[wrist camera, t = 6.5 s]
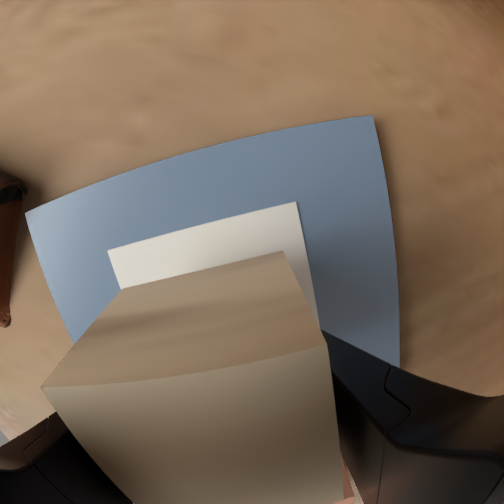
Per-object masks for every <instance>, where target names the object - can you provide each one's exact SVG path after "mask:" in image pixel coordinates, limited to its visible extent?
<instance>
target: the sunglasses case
mask: <svg viewBox="0 0 504 504" xmlns="http://www.w3.org/2000/svg"><path fill="white" fill-rule="evenodd" d="M23 193H24V194H28V190H27V188H26V187H25V186H24V184H23V182H21V181H20V180H18V179H16V178H14V177H12V176H10V175H8V174H5V173H3V172H1V171H0V326H2V327H4V328H6V327H7V326H8V325H9V324H10V322H11V316H10V307H9V299H10V288H11V275H12V264H13V257H14V250H15V242H16V238H17V231H18V222H19V218H20V213H21V207H22V195H23Z"/></svg>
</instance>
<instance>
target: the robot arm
mask: <svg viewBox="0 0 504 504" xmlns="http://www.w3.org/2000/svg"><path fill="white" fill-rule="evenodd" d="M320 330H321V332H322V334H323V337H324V339H325V341H326V343H327V347H328V354H329V361H330V369H331V376H332V383H333V391H334V399H335V408H336V416H337V425H338V435H339V445H340V450H341V452H342V455H343V457H344V459H345V461H346V464H347V466H348V468H349V470H350V473H351V475H352V477H353V479H354V482H355V484H356V486H357V488H358V491H359V493H360V495H361V498H362V500H363V502H364V504H504V395H501V396H495V397H485V396H479V395H474V394H471V393H468V392H464V391H461V390H458V389H455V388H451V387H448V386H445V385H442V384H439V383H436V382H433V381H430V380H427V379H424V378H422V377H419V376H416V375H414V374H412V373H410V372H407V371H405V370H403V369H401V368H399V367H396V366H394V365H391V364H390V363H388V362H386V361H384V360H382V359H380V358H378V357H376V356H374V355H372V354H370V353H368V352H366V351H364V350H362V349H360V348H358V347H356V346H354V345H352V344H350V343H348V342H346V341H344V340H342V339H340V338H338V337H336V336H334V335H332V334H330V333H328V332H326V331H324V330H322V329H320ZM0 504H133V502H132V501H131V500H130V499H129V498H128V497H127V496H126V495H125V494H124V493H123V492H122V491H121V490H120V489H119V488H118V487H117V486H116V485H115V484H114V482H113V481H112V480H111V479H110V478H109V477H108V476H107V475H106V474H105V473H104V472H103V470H102V469H101V468H100V467H99V466H98V465H97V464H96V462H95V461H94V460H93V459H92V458H91V457H90V455H89V454H88V453H87V452H86V450H85V449H84V448H83V447H82V445H81V444H80V443H79V442H78V440H77V439H76V438H75V437H74V435H73V434H72V433H71V431H70V430H69V429H68V427H67V426H66V424H65V423H64V422H63V420H62V419H61V417H60V416H59V415H58V413H57V412H55V413H53V414H52V415H50V416H49V418H46V419H44V420H43V421H41V422H40V423H38V424H37V425H35V426H34V427H32V428H31V429H29V430H28V431H26V432H24V433H23V434H21V435H20V436H18V437H16V438H15V439H13V440H11V441H9V442H8V443H6V444H4V445H2V446H1V447H0Z"/></svg>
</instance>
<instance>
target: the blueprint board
mask: <svg viewBox="0 0 504 504" xmlns="http://www.w3.org/2000/svg"><path fill="white" fill-rule="evenodd" d="M25 216H26V220H27V224H28V227H29V231H30V234H31V237H32V241H33V244H34V247H35V250H36V253H37V256H38V259H39V262H40V265H41V268H42V270H43V273H44V276H45V278H46V281H47V284H48V286H49V289H50V291H51V294H52V296H53V299H54V301H55V304H56V306H57V308H58V311H59V313H60V315H61V318H62V320H63V322H64V324H65V326H66V329H67V331H68V333H69V335H70V337H71V339H72V341H73V343H74V344H75V343H76V342H77V341H78V340H79V338H80V337H81V336H82V335H83V334H84V332H85V331H86V330H87V329H88V328H89V326H90V325H91V324H92V323H93V322H94V321H95V319H96V318H97V317H98V316H99V315H100V314H101V312H102V311H103V310H104V309H105V308H106V307H107V306H108V304H109V303H110V302H111V301H112V300H113V299H114V298H115V296H116V295H117V294H118V293H119V292H120V291H121V290H122V289H123V288H127V287H131V286H135V285H140V284H144V283H148V282H152V281H156V280H161V279H165V278H169V277H173V276H178V275H182V274H186V273H190V272H194V271H199V270H203V269H207V268H211V267H215V266H220V265H224V264H228V263H232V262H236V261H240V260H245V259H249V258H253V257H257V256H261V255H265V254H269V253H274V252H278V251H282V250H283V252H284V254H285V256H286V258H287V260H288V263H289V265H290V267H291V269H292V271H293V273H294V275H295V277H296V279H297V281H298V283H299V285H300V288H301V290H302V292H303V294H304V296H305V298H306V300H307V302H308V304H309V307H310V309H311V311H312V313H313V315H314V317H315V319H316V322H317V324H318V326H319V328H320V329H322V330H324V331H326V332H328V333H330V334H332V335H334V336H336V337H338V338H340V339H342V340H344V341H346V342H348V343H350V344H352V345H354V346H356V347H358V348H360V349H362V350H364V351H366V352H368V353H370V354H372V355H374V356H376V357H378V358H380V359H382V360H384V361H386V362H388V363H390V364H391V365H394V366H396V367H399V366H400V318H399V293H398V276H397V263H396V252H395V242H394V233H393V225H392V217H391V209H390V202H389V196H388V190H387V183H386V178H385V172H384V166H383V161H382V156H381V151H380V146H379V142H378V137H377V132H376V128H375V124H374V120H373V115H369V116H361V117H353V118H346V119H340V120H333V121H327V122H321V123H315V124H309V125H303V126H298V127H293V128H288V129H283V130H278V131H273V132H268V133H264V134H259V135H255V136H250V137H246V138H242V139H237V140H233V141H229V142H225V143H221V144H217V145H214V146H210V147H206V148H202V149H199V150H195V151H192V152H188V153H185V154H181V155H178V156H174V157H171V158H168V159H165V160H161V161H158V162H155V163H152V164H149V165H146V166H143V167H140V168H137V169H134V170H131V171H128V172H125V173H122V174H119V175H116V176H114V177H111V178H108V179H105V180H103V181H100V182H97V183H95V184H92V185H90V186H87V187H84V188H82V189H79V190H77V191H74V192H72V193H69V194H67V195H65V196H62V197H60V198H57V199H55V200H53V201H50V202H48V203H46V204H44V205H41V206H39V207H37V208H35V209H32V210H30V211H28V212H26V213H25Z"/></svg>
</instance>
